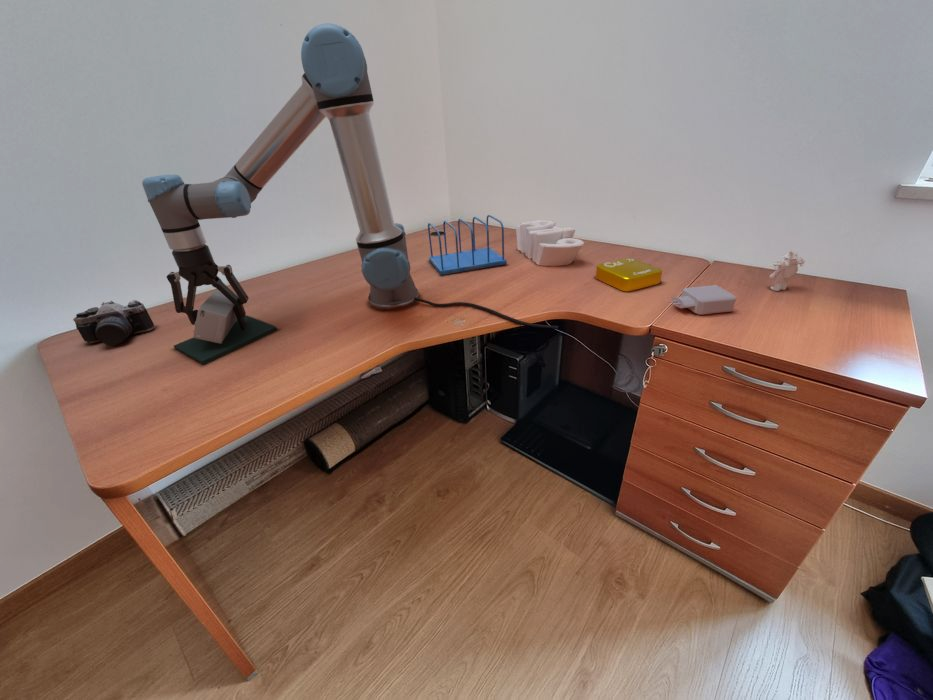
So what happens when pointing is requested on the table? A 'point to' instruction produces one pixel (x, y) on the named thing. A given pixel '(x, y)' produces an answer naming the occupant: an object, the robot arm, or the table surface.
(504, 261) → the file sorter
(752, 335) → the table surface
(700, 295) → the charger
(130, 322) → the camera
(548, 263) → the wavy white extrusion
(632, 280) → the element tile
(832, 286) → the table surface
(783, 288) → the hat wearing toy figure
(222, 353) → the desk mat
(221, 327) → the cosmetic box
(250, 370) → the table surface
